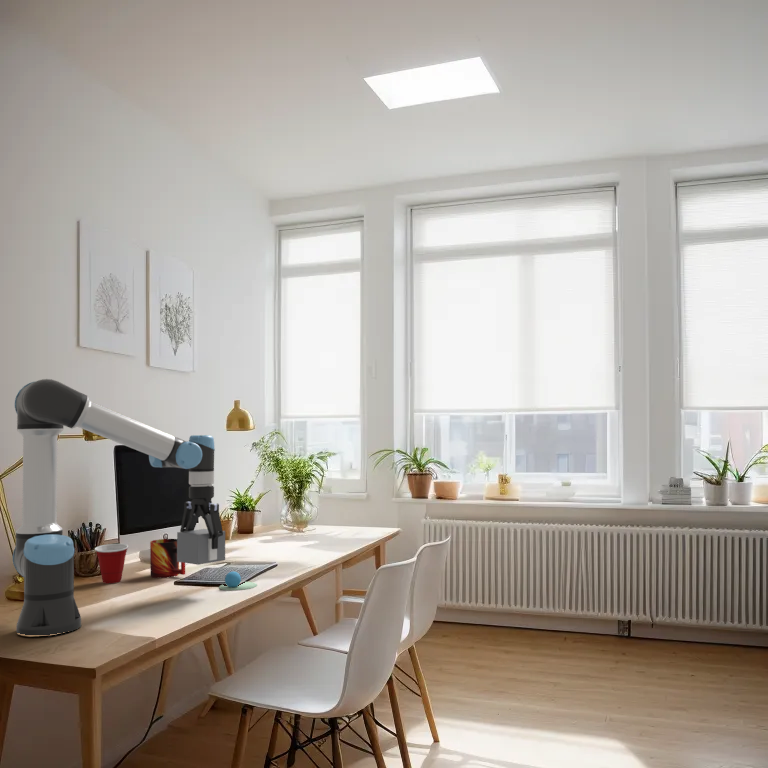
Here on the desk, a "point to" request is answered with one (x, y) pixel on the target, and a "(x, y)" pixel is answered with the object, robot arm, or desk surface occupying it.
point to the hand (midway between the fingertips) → (201, 558)
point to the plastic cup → (111, 561)
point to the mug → (164, 559)
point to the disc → (241, 587)
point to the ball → (232, 579)
